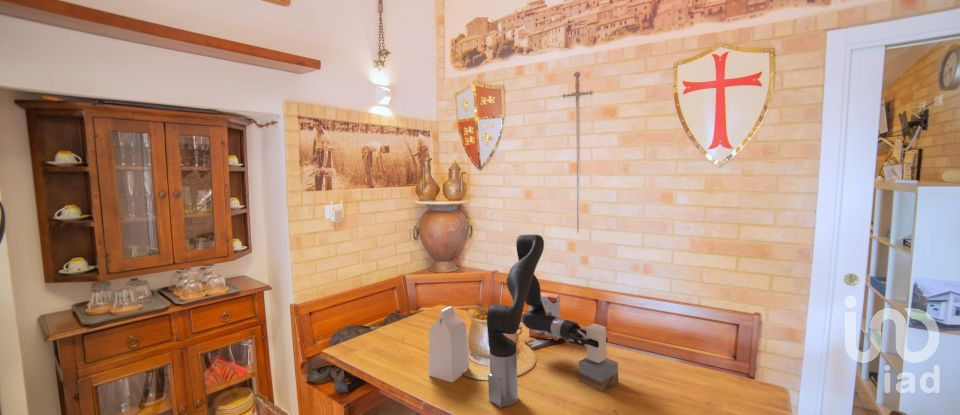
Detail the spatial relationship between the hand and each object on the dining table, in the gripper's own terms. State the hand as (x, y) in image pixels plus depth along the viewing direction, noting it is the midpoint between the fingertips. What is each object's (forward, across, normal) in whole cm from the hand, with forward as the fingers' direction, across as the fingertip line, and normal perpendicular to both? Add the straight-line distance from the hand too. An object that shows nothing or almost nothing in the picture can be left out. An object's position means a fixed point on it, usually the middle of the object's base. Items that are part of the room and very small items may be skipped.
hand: (602, 342), depth 142 cm
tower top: (-2, 0, +12) cm, 12 cm away
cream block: (-3, 0, +7) cm, 7 cm away
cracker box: (-43, +17, +16) cm, 49 cm away
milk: (-47, -36, +16) cm, 61 cm away
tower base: (-2, 0, +16) cm, 16 cm away
